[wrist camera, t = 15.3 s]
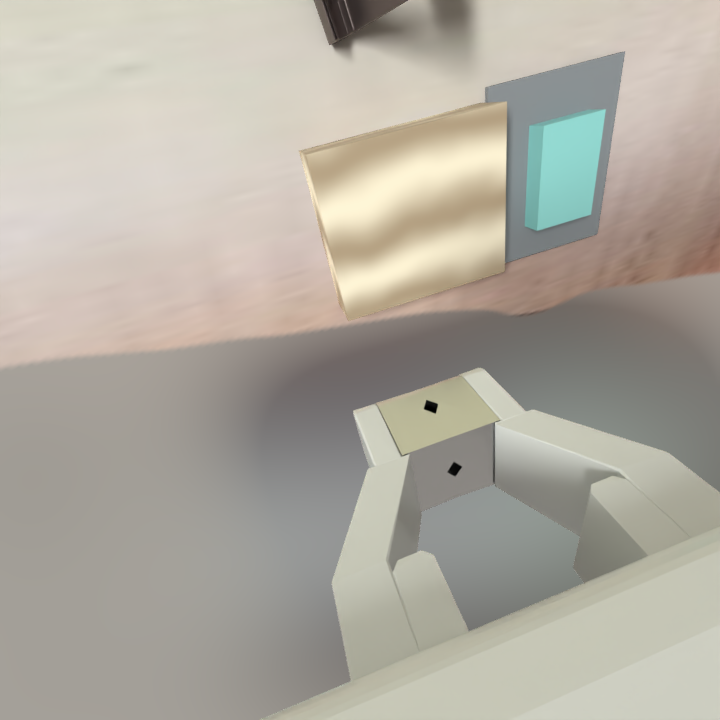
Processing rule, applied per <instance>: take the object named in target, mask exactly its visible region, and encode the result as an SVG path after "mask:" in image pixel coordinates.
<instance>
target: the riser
mask: <svg viewBox="0 0 720 720" xmlns="http://www.w3.org/2000/svg"><path fill="white" fill-rule="evenodd" d="M506 146H507V101H505V102H490V103H479V104H475V105H471V106H467V107H464V108H460V109H456V110H452V111H448V112H445V113H441V114H437V115H433V116H430V117H426V118H422V119H418V120H414V121H411V122H407V123H403V124H399V125H396V126H392V127H388V128H384V129H380V130H377V131H373V132H369V133H365V134H361V135H358V136H354V137H350V138H346V139H343V140H339V141H335V142H331V143H327V144H324V145H320V146H316V147H312V148H309V149H305V150H301V151H299V152H300V156H301V160H302V164H303V167H304V171H305V175H306V179H307V183H308V186H309V190H310V194H311V198H312V202H313V206H314V209H315V213H316V217H317V221H318V225H319V228H320V232H321V236H322V240H323V244H324V248H325V251H326V255H327V259H328V263H329V267H330V270H331V274H332V278H333V282H334V286H335V289H336V293H337V297H338V301H339V304H340V306H341V308H342V310H343V312H344V314H345V315H346V317H347V319H348V321H350V320H354V319H357V318H360V317H363V316H366V315H369V314H373V313H376V312H379V311H382V310H385V309H388V308H391V307H395V306H398V305H401V304H404V303H407V302H410V301H414V300H417V299H420V298H423V297H426V296H429V295H433V294H436V293H439V292H442V291H445V290H448V289H451V288H455V287H458V286H461V285H464V284H467V283H470V282H474V281H477V280H480V279H483V278H486V277H489V276H493V275H496V274H499V273H502V272H505V219H506Z"/></svg>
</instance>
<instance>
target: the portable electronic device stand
mask: <svg viewBox="0 0 720 720" xmlns="http://www.w3.org/2000/svg"><path fill="white" fill-rule="evenodd" d="M406 1H408V0H314V2H315V5H316V8H317V11H318V14H319V16H320V19H321V22H322V25H323V28H324V31H325V34H326V37H327V40H328V43H329V45H332V44H334V43H336V42H338V41H340V40H342V39H344V38H346V37H347V36H349V35H351V34H353V33H354V32H356V31H358V30H359V29H361V28H363V27H364V26H366V25H368V24H369V23H371V22H373V21H374V20H376V19H378V18H379V17H381V16H383V15H384V14H386V13H388V12H390V11H391V10H393V9H395V8H396V7H398V6H400V5H401V4H403V3H405V2H406Z"/></svg>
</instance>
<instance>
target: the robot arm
mask: <svg viewBox="0 0 720 720" xmlns="http://www.w3.org/2000/svg"><path fill="white" fill-rule="evenodd" d="M353 413H354V418H355V421H356V425H357V428H358V432H359V435H360V438H361V442H362V445H363V449H364V452H365V455H366V458H367V461H368V465H369V469H368V470H367V473H366V476H365V480H364V483H363V486H362V489H361V492H360V495H359V498H358V501H357V505H356V508H355V511H354V514H353V517H352V520H351V523H350V527H349V530H348V533H347V536H346V539H345V542H344V546H343V549H342V552H341V555H340V558H339V561H338V565H337V568H336V571H335V574H334V577H333V580H332V587H333V593H334V598H335V602H336V608H337V613H338V618H339V623H340V628H341V633H342V638H343V643H344V648H345V654H346V659H347V664H348V669H349V674H350V679H351V681H350V682H348V683H346V684H343V685H341V686H338V687H336V688H334V689H331V690H329V691H327V692H324V693H322V694H320V695H317V696H315V697H312V698H310V699H308V700H305V701H303V702H301V703H298V704H296V705H293V706H291V707H289V708H286V709H284V710H282V711H279V712H277V713H274V714H272V715H270V716H267V717H265V718H263V719H260V720H720V493H719V492H718V491H717V490H716V489H714V488H713V487H712V486H710V485H709V484H708V483H706V482H705V481H704V480H702V479H701V478H700V477H699V476H698V475H696V474H695V473H694V472H692V471H691V470H690V469H689V468H687V467H686V466H685V465H683V464H682V463H681V462H680V461H678V460H677V459H676V458H674V457H673V456H672V455H671V454H669V453H668V452H665V451H662V450H658V449H655V448H652V447H649V446H646V445H643V444H640V443H637V442H633V441H630V440H627V439H624V438H621V437H618V436H614V435H611V434H608V433H605V432H602V431H599V430H596V429H593V428H589V427H587V426H583V425H580V424H577V423H574V422H571V421H568V420H565V419H562V418H558V417H555V416H552V415H549V414H546V413H543V412H540V411H537V410H530V411H527V412H526V411H525V410H524V409H523V408H522V407H521V406H520V405H519V404H518V403H517V402H516V401H515V400H514V399H513V398H512V397H511V396H510V395H509V394H508V393H507V392H506V391H505V390H504V389H503V388H502V387H501V386H500V385H499V384H498V383H497V382H496V381H495V380H494V379H493V378H492V377H491V376H490V375H489V374H488V373H487V372H486V371H485V370H484V369H482V368H477V369H474V370H471V371H468V372H466V373H463V374H460V375H459V376H456V377H453V378H450V379H447V380H444V381H441V382H439V383H436V384H433V385H430V386H427V387H424V388H422V389H419V390H416V391H413V392H409V393H406V394H403V395H400V396H397V397H394V398H390V399H387V400H384V401H381V402H378V403H376V405H375V404H373V405H370V406H367V407H364V408H361V409H357V410H354V411H353ZM493 484H495V486H496V487H498V488H499V489H501V490H502V491H504V492H506V493H507V494H509V495H511V496H513V497H515V498H516V499H518V500H519V501H521V502H523V503H524V504H526V505H528V506H529V507H531V508H533V509H534V510H536V511H538V512H540V513H541V514H543V515H545V516H547V517H548V518H550V519H551V520H553V521H555V522H557V523H558V524H560V525H562V526H563V527H565V528H567V529H568V530H570V531H572V532H573V533H575V534H577V535H578V536H580V538H579V543H578V547H577V552H576V556H575V561H574V566H573V568H574V570H575V571H576V572H577V574H578V575H579V576H580V578H581V579H582V581H583V582H584V583H583V584H581V585H579V586H576V587H574V588H571V589H569V590H566V591H564V592H562V593H559V594H557V595H555V596H552V597H550V598H547V599H545V600H543V601H540V602H538V603H536V604H533V605H531V606H528V607H526V608H524V609H521V610H519V611H517V612H515V613H512V614H509V615H507V616H505V617H502V618H500V619H498V620H495V621H493V622H490V623H488V624H486V625H484V626H481V627H479V628H476V629H474V630H471V631H468V628H467V626H466V624H465V622H464V620H463V617H462V615H461V613H460V611H459V609H458V607H457V604H456V602H455V600H454V598H453V596H452V594H451V591H450V590H449V587H448V585H447V583H446V581H445V578H444V576H443V574H442V572H441V570H440V568H439V565H438V563H437V561H436V559H435V557H434V555H433V554H430V553H427V552H425V551H419V552H417V548H418V540H419V532H420V524H421V516H422V515H421V512H422V511H425V510H427V509H430V508H432V507H434V506H437V505H439V504H441V503H444V502H447V501H449V500H451V499H454V498H456V497H459V496H462V495H465V494H468V493H470V492H473V491H476V490H479V489H482V488H485V487H488V486H490V485H493Z"/></svg>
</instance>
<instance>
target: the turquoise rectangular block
mask: <svg viewBox="0 0 720 720" xmlns="http://www.w3.org/2000/svg"><path fill="white" fill-rule="evenodd" d="M605 112H606V109H594V110H585V111H582V112H578V113H574V114H571V115H567V116H563V117H559V118H556V119H552V120H548V121H545V122H541V123H537V124H533V125H530V126H529V144H528V165H527V187H526V209H525V227H528V228H531V229H533V230H536V231H538V230H542V229H545V228H548V227H552V226H555V225H558V224H562V223H565V222H568V221H572V220H575V219H578V218H581V217H585V216H588V215H591V211H592V204H593V197H594V190H595V183H596V176H597V168H598V161H599V154H600V147H601V140H602V133H603V126H604V119H605Z"/></svg>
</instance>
